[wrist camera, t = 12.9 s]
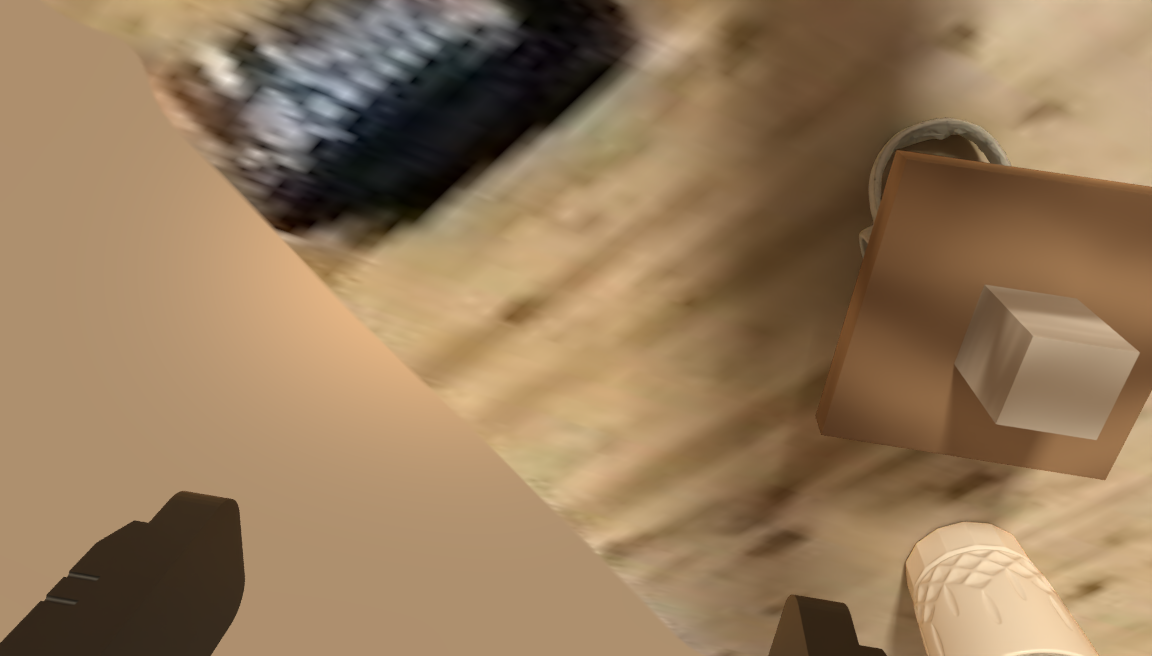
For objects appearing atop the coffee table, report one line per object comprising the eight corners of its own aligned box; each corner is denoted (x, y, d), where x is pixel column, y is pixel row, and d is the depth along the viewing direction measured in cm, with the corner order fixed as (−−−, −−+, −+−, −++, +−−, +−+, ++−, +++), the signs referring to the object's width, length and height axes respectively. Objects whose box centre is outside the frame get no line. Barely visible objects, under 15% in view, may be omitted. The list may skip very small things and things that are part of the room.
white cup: (1033, 608, 48) (1117, 760, 39) (897, 619, 50) (948, 768, 41) (1035, 504, 45) (1128, 643, 36) (890, 519, 46) (944, 657, 37)
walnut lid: (896, 149, 30) (946, 194, 25) (1219, 196, 30) (1342, 252, 24) (815, 416, 35) (842, 500, 30) (1088, 459, 35) (1165, 552, 29)
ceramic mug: (1058, 276, 39) (1141, 343, 32) (894, 340, 42) (939, 416, 35) (993, 78, 36) (1070, 106, 29) (818, 160, 38) (851, 204, 31)
